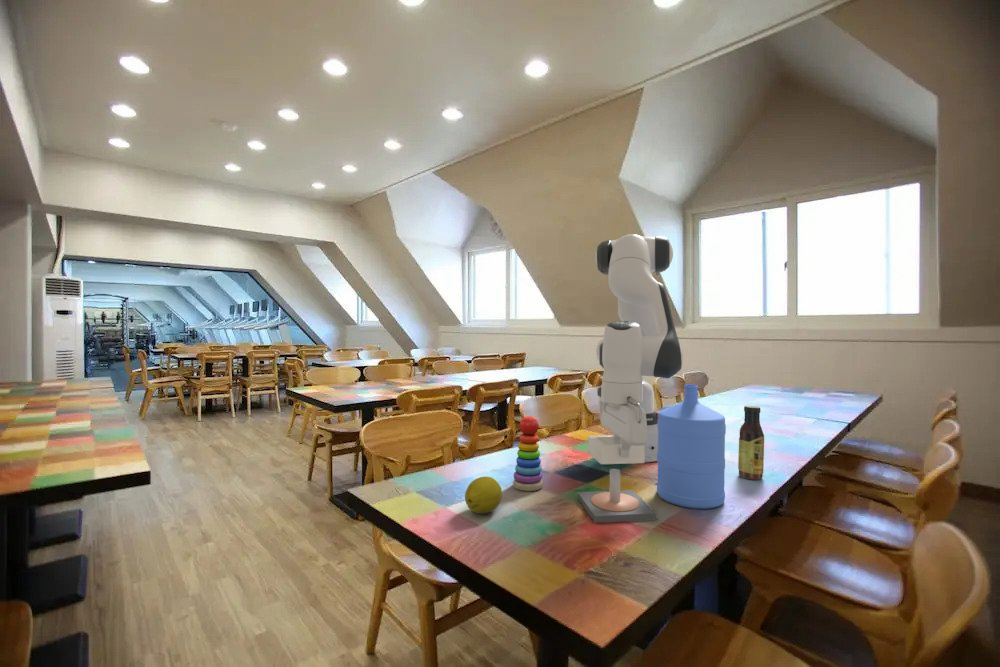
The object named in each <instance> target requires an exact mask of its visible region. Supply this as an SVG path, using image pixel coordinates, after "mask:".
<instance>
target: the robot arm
mask: <svg viewBox="0 0 1000 667" xmlns="http://www.w3.org/2000/svg"><path fill="white" fill-rule="evenodd" d="M596 248H597V249H596V251H595V256H594V260H595V265H596V267H597V270H598V272H600V273H601V274H603V275H607V276H608V278H607V280H608V286H609V290H610V291H611V293H612V295H614V296H615V297H616V298H617V315H618V318H619V319H620V320H616V321H611V322H608V323H606V325H605V328H604V332H603V337H602V338H601V339H600V340H599V342H598V344H597V345H596V348H595V349H596V350H595V352H596V357H597V360H598V362H599V365H600V366H601V368H602V369H603V374H602V376H601V384H600V386H598V387H596V395H597V397H598V398H599V400H598V408H599V412H598V413H599V420H600V424H601V426H603V427H604V428H605V429H607V430H608V431H609V432H611V433H612V434H611V435H612V437H613V441H614V444H621V448H619V455H620V456H621V457H622V458H628V457H629V450H630V447H631V446H640V445H645V447H644V463H650V462H658V461H657V451H658V427H657V423H658V413H659V412H656V411H654V409H655V408H654V406H655V404H654V403H655V402H654V400H655V391H654V388H653V386H652V385H651V384H650V383H649V382H647V381H646V380H644V379H643V377H653V378H662V379H670V378H673V377H674V376H676V374H678V373H679V372H680V371H681V370H682V368H683V363H684V354H683V349H682V345H681V343H680V341H679V337H678V335H677V331H676V327H675V323H674V318H673V313H672V309H671V305H670V301H669V298H668V294H667V291H666V288H665V286H664V284H663V283H661V282H659V281H657V280H656V278H654V276H653V273H655V274H656V276H658V275H659V274H660V273H663V272H665V271H666V270H668V269H669V268H670V265H671V263H672V260H673V257H674V249H673V246H672V244H671V242H670V240H669V238H668V237H666V236H662V235H656V236H647V235H646V236H645V235H644V236H643V235H642V236H641V235H638V234H633V233H631V234H625V235H623V236H621V237H619V238H617V239H613V240H611V239H606V240H604V241H602V242H600V244H598V245H597V247H596Z"/></svg>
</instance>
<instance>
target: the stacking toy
mask: <svg viewBox="0 0 1000 667" xmlns="http://www.w3.org/2000/svg"><path fill="white" fill-rule="evenodd" d="M539 428H540V426H539V421H538V419H537V418H536V417H534V416H531V415H528V416H526V415H525V416H524V417H522V419H521V420H520V422H519V429H520V431H521V433H522V434H520V435H519V438H518V439H519V443H518V444H517V447H518V450H517V453H516V454H517V457H516V460H515V462H516V465H515V467H514V468H515V472H513V478H514V479H513V481H512V486H513V487H514V488H516V489H517V490H519V491H523V492H533V491H534V492H535V491H538V490H541V489H542V488H543V487H544V481H543V480H542V478H543V474H542V469H543V468H542V465H541V463H542V462H541V461H542V459H541V458H540V456H541V451H540V450H539V447H540V445H539V443H538V441H539V436H538V435H537V434H536V433H537V432H538V430H539Z"/></svg>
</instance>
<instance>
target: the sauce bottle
mask: <svg viewBox="0 0 1000 667" xmlns="http://www.w3.org/2000/svg"><path fill="white" fill-rule="evenodd" d="M743 411H744V419H743V420H744V422H743V424H742V425H741V427H740V428H739V437H738V455H737V456H738V462H737V465H738V466H737V469H738V475H739V477H741V478H743V479H746V480H753V481H755V480H757V481H759V480H762V479H763V476H764V468H765V467H764V466H765V464H764V462H765V461H764V460H765V434H764V432H763V429H762V426H761V423H760V422H761V420H760V413H761V407H760V406H756V405H744V406H743Z"/></svg>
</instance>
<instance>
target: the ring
mask: <svg viewBox="0 0 1000 667" xmlns="http://www.w3.org/2000/svg"><path fill="white" fill-rule="evenodd" d="M644 447H645V445H640V446H631V447H630V450H629V457H628V458H622V457H621V456H620V455H619V448H621V444H614V441H613V437H612V434H611V435H609V434H608V435H601V434H600V435H588V436H587V453H588V454H589V455H590V456H592V457H593V458H594V459H595V460H596V462H598V463H599V464H600V465H615V464H616V465H619V464H623V465H624V464H645V462H644Z"/></svg>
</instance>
